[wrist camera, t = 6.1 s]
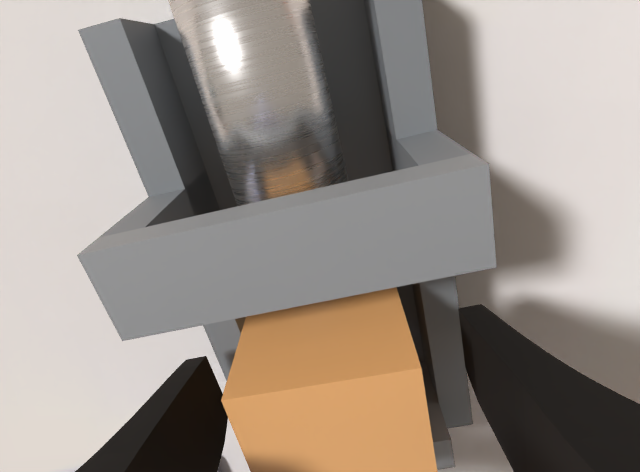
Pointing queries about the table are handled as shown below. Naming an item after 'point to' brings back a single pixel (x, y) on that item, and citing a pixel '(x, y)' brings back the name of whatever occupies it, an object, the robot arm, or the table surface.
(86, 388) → the table surface
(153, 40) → the housing
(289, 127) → the shaft
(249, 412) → the block
